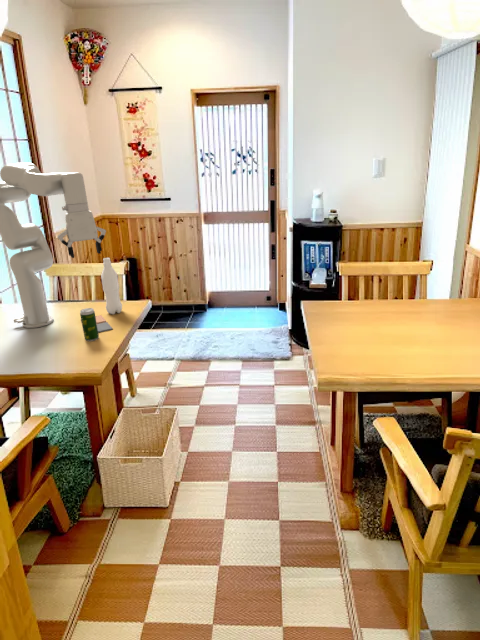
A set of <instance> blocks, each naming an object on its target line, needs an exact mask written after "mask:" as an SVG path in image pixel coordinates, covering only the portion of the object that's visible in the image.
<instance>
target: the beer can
mask: <svg viewBox="0 0 480 640" xmlns="http://www.w3.org/2000/svg"><path fill="white" fill-rule="evenodd" d="M79 315H80V322H81V321H82V322H81V326H82V332H83V336H84V340H85V341H86V342H94V341H97V340H98V339H99V337H100V336H99V333H98V328H97V323H96V317H95V316H96V313H95V310H94V308H93V307H86V308H82V309H81V310H80V312H79Z"/></svg>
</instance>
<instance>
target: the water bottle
mask: <svg viewBox="0 0 480 640" xmlns="http://www.w3.org/2000/svg"><path fill="white" fill-rule="evenodd" d="M102 261H103V263H102V264H103V269H102V272H101V275H100V278H101V284H102V290H103V292H104V296H105V301H106V303H105V309H106V312H107V314H110V315H116V313H117V314H120V313H121V312H122V309H123V303H122V302H121V299H120V293H119V292H120V284H119V278H118V273H117V271H116V270H115V268H114V267H113V266H112V261H111V258H110V257H103V259H102Z"/></svg>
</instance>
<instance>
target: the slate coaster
mask: <svg viewBox="0 0 480 640" xmlns="http://www.w3.org/2000/svg"><path fill="white" fill-rule="evenodd" d="M97 328H98V334H99V333H102V332H103V333H104V332H108V331H111V330H114V328H113V327H112V326H111V325H110V324H109V322H107V321H106V322H104V323H99V324H97Z"/></svg>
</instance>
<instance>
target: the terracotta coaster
mask: <svg viewBox="0 0 480 640" xmlns="http://www.w3.org/2000/svg"><path fill="white" fill-rule="evenodd" d="M95 317H96V323H97V324H100V323H105V322H107V320H106V319H105V318H104V316H103V315H102V314H100V315H95ZM80 322H81V323H82V321H81V320H80Z"/></svg>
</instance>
